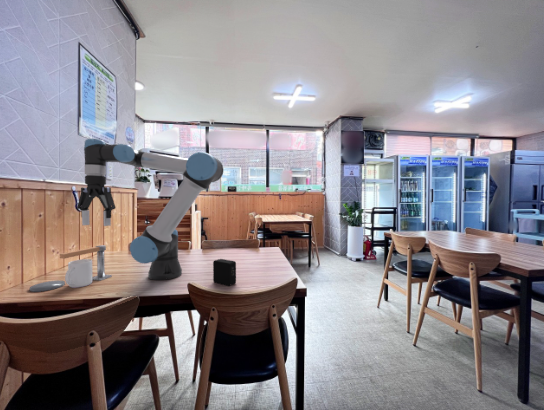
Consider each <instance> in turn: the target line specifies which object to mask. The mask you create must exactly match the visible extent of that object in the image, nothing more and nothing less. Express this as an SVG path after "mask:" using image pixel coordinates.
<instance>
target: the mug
mask: <svg viewBox="0 0 544 410" xmlns="http://www.w3.org/2000/svg"><path fill="white" fill-rule="evenodd" d="M67 265H68V266H67V270H66V272H65V276H64V281H65V284H67V285H68V287H69V288H73V289H74V288H82V287H86V286H90V285H92V283H93V280H92V277H93V259H91V258H86V259H85V258H82V259H76V260H72V261H69V262H68V263H67Z"/></svg>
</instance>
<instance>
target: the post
mask: <svg viewBox="0 0 544 410" xmlns="http://www.w3.org/2000/svg"><path fill="white" fill-rule="evenodd" d="M96 262H97V269H96V271H97V275H95V276H94V275H93V276H92V281H103V280H106V279H109V278H111V277H113V275H112V274H105V271H106V270H105V250H104V251H97V252H96Z"/></svg>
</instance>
